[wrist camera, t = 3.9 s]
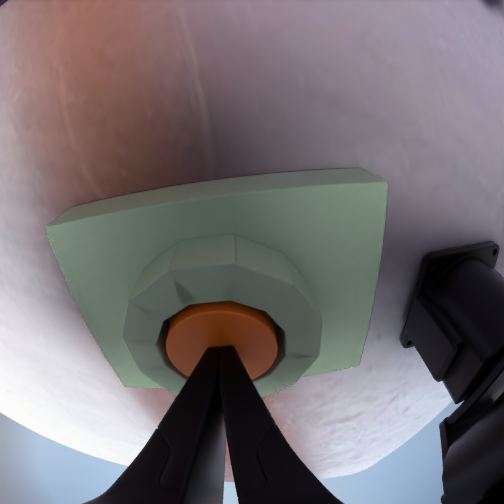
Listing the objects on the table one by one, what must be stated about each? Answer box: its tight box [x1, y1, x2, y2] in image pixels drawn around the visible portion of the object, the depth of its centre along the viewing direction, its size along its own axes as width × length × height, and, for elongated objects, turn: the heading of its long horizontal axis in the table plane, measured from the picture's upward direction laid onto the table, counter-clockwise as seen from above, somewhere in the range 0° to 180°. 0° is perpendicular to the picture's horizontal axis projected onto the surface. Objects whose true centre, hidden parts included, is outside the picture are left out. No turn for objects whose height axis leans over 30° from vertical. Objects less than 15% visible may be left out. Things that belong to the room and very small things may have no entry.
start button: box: [166, 300, 278, 380], centre depth 9 cm, size 4×4×2 cm
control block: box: [45, 168, 388, 398], centre depth 10 cm, size 12×9×4 cm
